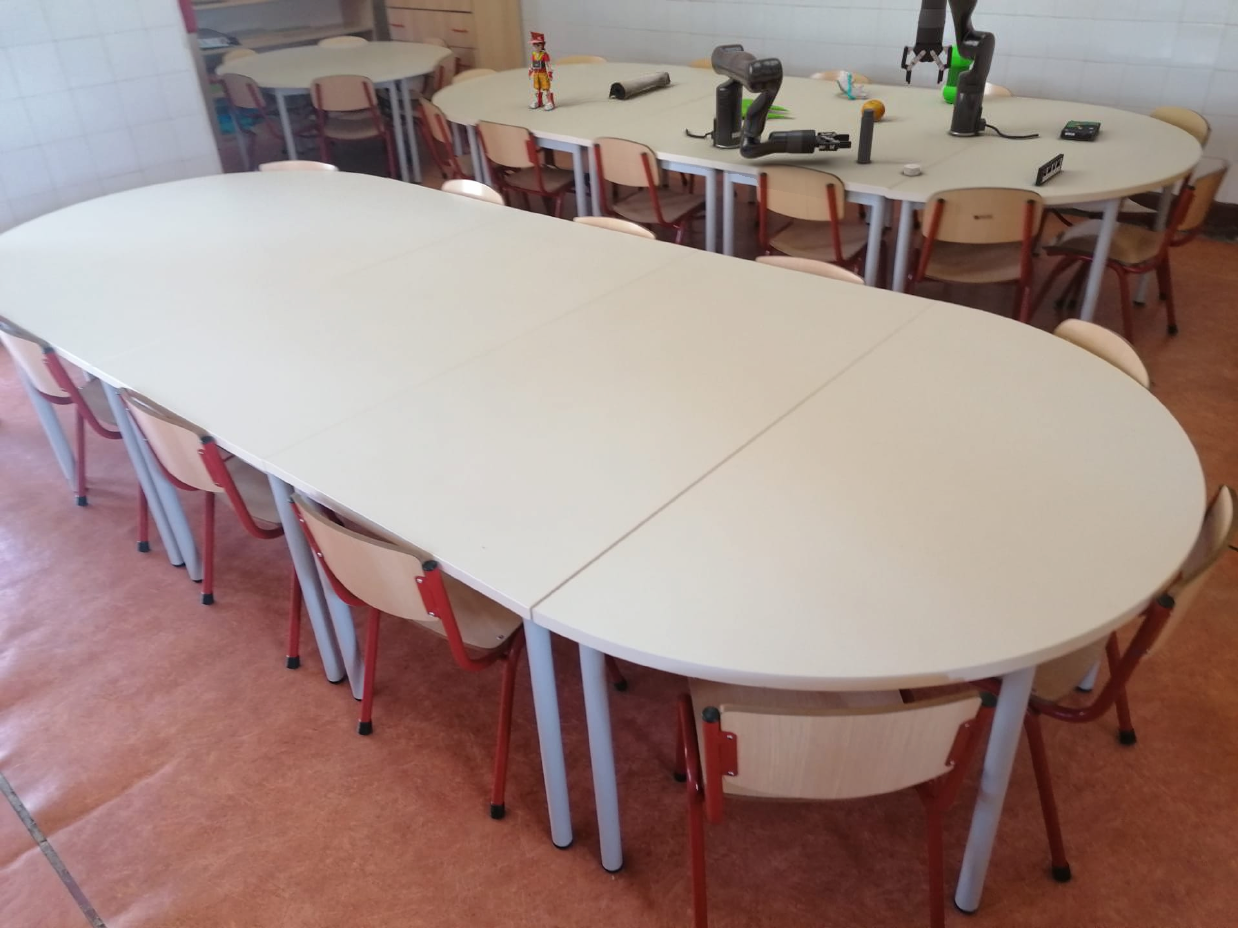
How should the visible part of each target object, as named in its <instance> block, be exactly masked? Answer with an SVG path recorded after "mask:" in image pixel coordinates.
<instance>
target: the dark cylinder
mask: <svg viewBox="0 0 1238 928" xmlns="http://www.w3.org/2000/svg"><path fill="white" fill-rule="evenodd" d="M874 120H875V116H874V110H873V109H864V110H863V116H862V115H861V119H860V126H859V127H860V128H859V140H858V149H857V160H856V162H857V163H858V164H864V165H865V164H869V163H871V158H872V157H871V155H872V148H873V147H872V146H873V137H874V129H875V121H874Z"/></svg>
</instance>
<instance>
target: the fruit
mask: <svg viewBox="0 0 1238 928" xmlns="http://www.w3.org/2000/svg"><path fill="white" fill-rule="evenodd" d="M864 109H873V110H874V116H875V120H874V122H876V121H879V120H881V119H882V118H883V117H884V115H885V114H886V106H885V104H884V103H883V102H882V101H881V100H878V99H871V100H868V101H866V102H865V103H863V105H862V106H861V110H860V114H861V117H862V116H863V110H864Z"/></svg>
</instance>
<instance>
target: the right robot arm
mask: <svg viewBox="0 0 1238 928" xmlns="http://www.w3.org/2000/svg"><path fill="white" fill-rule="evenodd" d="M978 2H979V0H921V3H920V4H921V5H920V9H919V10H920V11H919V14H918V20H917V28H916V37H915V44H914V45H913V46H908V45H904V47H903V52H902V58H901V61H900V62H901V63H900V68H901V69H904V70H905V71H906V72H905V83H907V85H910V84H911V80H912V79H911V78H912V72H913V71H912V69H913V68H914V67H915V66H916V65H917V64H918V63H919V62H920V63H933V62H935V65H937V67H938V73H937V79H936V80H937V81H936V84H937V85H940V84H941V83H943V80H944V73H945V71H946V70H949V68H951V62H952V51H953V45H952V44H949V45H948V46H947V45H946V46H943V42H944V41H943V40H944V32H945V27H946V22H947V21H946V19H947V5H948V7H949V9H950V13H951V18H952V22H953V28H954V29H953V30H954V35H955V42H956V43H955V45H956V44H957V50H958V54H959V56H960V57H961V58H963V59H965V60H971V61H973V63H972V67H971V68H969V70H967V71H963V72H961V73H960V74H959V77H958V83H957V90H956V96H955V103H953V110H952V115H951V124H950V129H949V134H950V135H952V136H956V137H973V136H979V132H985V131H986V128H989V129H993V130H994V131H995V132H996V134H997V135H999V136H1000V137H1001V138H1006V139H1029V138H1030V139H1031V138H1037V137H1039V135H1040V134H1039V133H1034V134H1027V135H1009V134H1004V133H1002V132H1001V131H1000V130H999V129H998V127H996V126H994V125H991V124H988V123H987V120H986V118H985V117H983V118H982V115H983V109H984V107H983V102H984V96H985V90H986V83H987V79H988V76H989V74H990V71H991V67H992V61H993V58H994V54H995V48H996V36H995V34H994V33H993V32H991V31H984V30H977V29H975V28H974V26H973V20H972V16H973V13H974V11H975V8H976V7H977V4H978ZM911 52H913V53H914V55H915V56H914V57H913V58H912V60H911V61H910V62H909V63H907V59H908V55H910V54H911ZM943 52H944V54H945V55H946V63H943V62H942V59H941V58H940V57H939V56H940V55H941V54H942V53H943Z"/></svg>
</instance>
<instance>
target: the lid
mask: <svg viewBox="0 0 1238 928" xmlns="http://www.w3.org/2000/svg"><path fill="white" fill-rule="evenodd" d="M920 173H921V165H920V164H917V163H907V164H905V165H904V167H903V174H904V175H905V176H910V177H911V176H912V177H913V176H919V175H920Z"/></svg>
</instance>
